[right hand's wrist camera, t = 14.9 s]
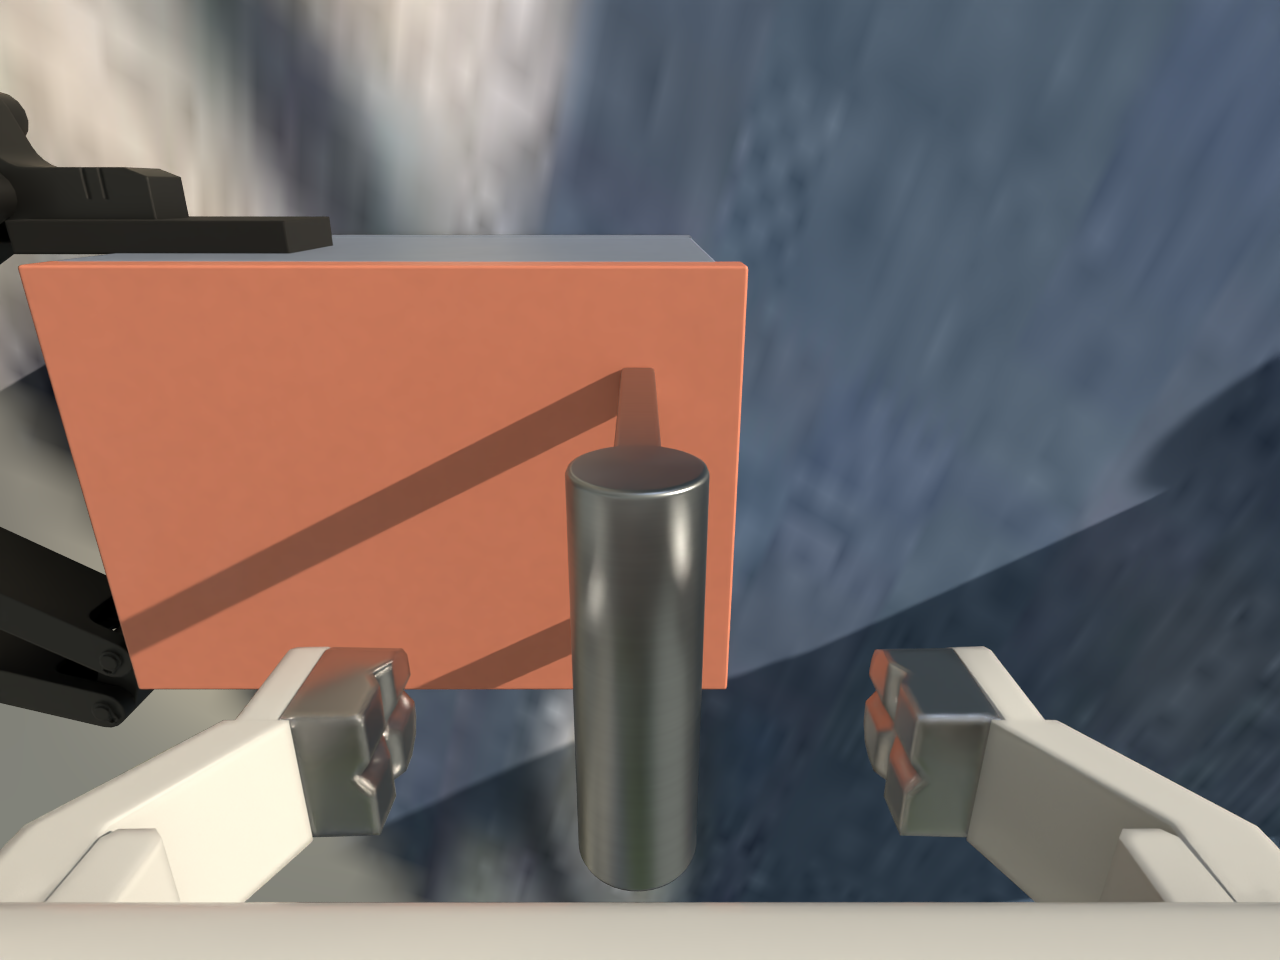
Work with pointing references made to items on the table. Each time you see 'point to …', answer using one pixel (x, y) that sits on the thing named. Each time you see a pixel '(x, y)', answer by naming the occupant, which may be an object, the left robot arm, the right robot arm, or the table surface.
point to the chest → (464, 250)
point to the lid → (425, 488)
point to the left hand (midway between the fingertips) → (341, 440)
